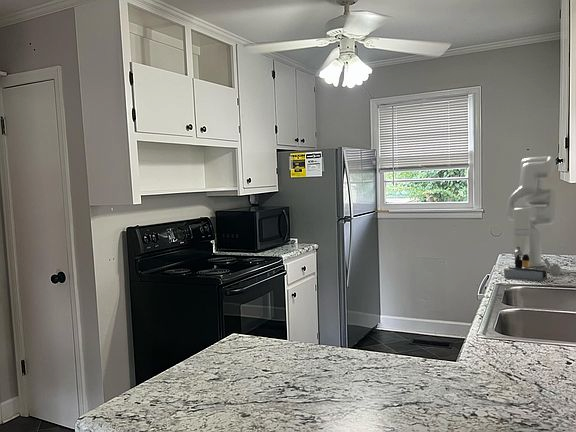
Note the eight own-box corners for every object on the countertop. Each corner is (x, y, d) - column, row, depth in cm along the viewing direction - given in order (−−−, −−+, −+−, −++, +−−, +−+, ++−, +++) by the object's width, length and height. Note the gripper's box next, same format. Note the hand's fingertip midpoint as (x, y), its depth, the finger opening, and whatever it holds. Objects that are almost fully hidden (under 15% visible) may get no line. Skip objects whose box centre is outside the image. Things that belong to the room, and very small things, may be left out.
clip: (517, 271, 247) (516, 259, 247) (529, 272, 243) (529, 260, 242) (515, 272, 245) (515, 260, 245) (527, 273, 241) (527, 261, 241)
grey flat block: (509, 274, 240) (509, 266, 240) (546, 278, 228) (546, 270, 228) (504, 277, 235) (504, 269, 235) (541, 281, 223) (541, 272, 223)
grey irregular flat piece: (560, 274, 235) (560, 258, 234) (559, 275, 234) (559, 258, 233) (543, 273, 239) (543, 257, 238) (543, 274, 238) (543, 258, 237)
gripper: (520, 230, 251) (520, 262, 253) (507, 233, 239) (508, 268, 240) (535, 230, 246) (536, 263, 247) (523, 234, 234) (523, 269, 235)
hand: (522, 266), depth 244 cm, fingers open, 9 cm apart
